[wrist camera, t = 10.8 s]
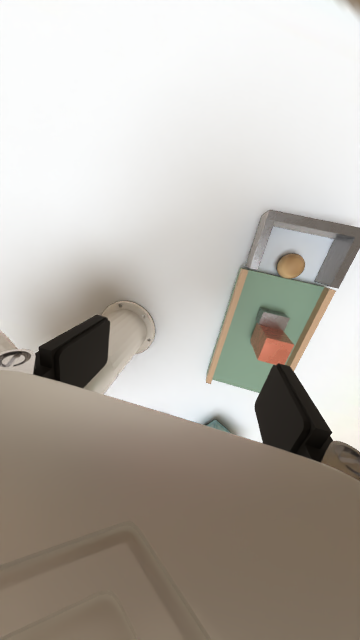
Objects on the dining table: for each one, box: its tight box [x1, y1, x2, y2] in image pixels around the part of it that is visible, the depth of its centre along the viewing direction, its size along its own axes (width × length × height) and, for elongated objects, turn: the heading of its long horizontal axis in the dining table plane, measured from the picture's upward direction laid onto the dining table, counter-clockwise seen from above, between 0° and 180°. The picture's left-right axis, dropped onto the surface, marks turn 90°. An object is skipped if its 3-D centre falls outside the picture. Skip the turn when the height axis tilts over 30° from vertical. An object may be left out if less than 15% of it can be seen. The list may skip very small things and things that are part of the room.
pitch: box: [206, 268, 336, 393], centre depth 37 cm, size 24×15×3 cm, turn 168°
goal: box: [245, 210, 360, 288], centre depth 30 cm, size 8×13×5 cm, turn 78°
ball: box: [277, 253, 305, 279], centre depth 32 cm, size 4×4×4 cm
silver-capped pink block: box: [250, 307, 294, 365], centre depth 32 cm, size 7×4×8 cm, turn 168°
